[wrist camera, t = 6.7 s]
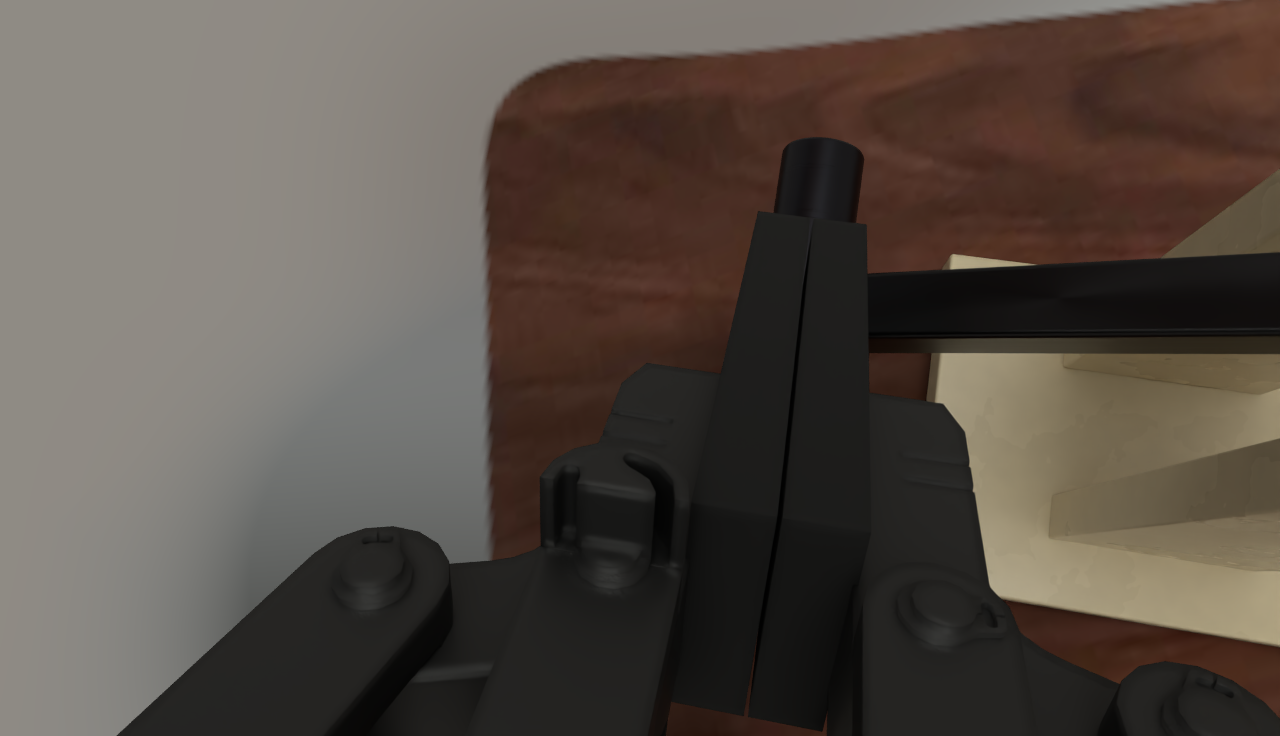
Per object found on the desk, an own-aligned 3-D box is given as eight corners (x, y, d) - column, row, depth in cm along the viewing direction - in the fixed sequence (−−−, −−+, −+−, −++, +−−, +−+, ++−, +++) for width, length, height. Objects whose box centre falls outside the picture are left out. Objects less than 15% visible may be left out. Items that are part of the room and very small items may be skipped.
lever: (773, 495, 17) (700, 472, 15) (817, 186, 18) (754, 130, 16) (1831, 613, 9) (1943, 594, 8) (1787, 73, 11) (1876, -56, 9)
